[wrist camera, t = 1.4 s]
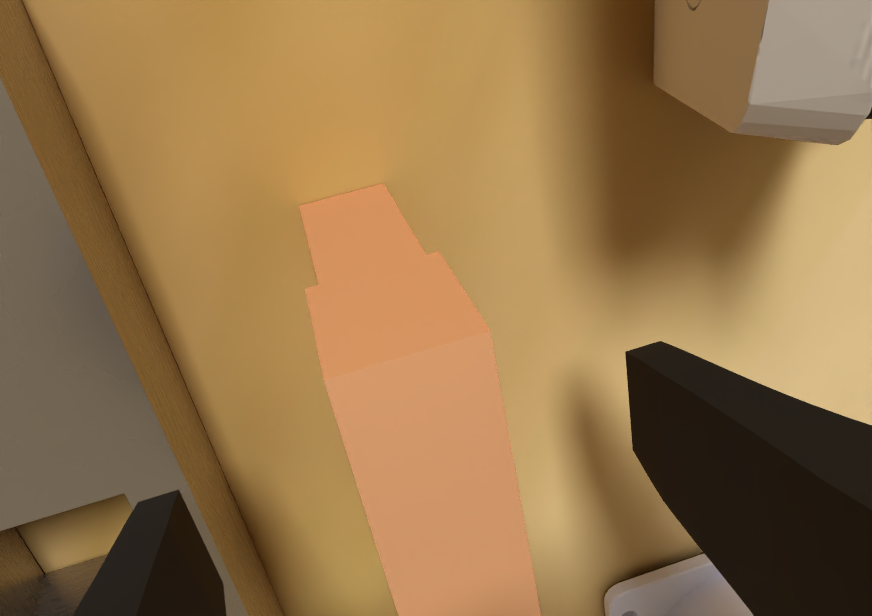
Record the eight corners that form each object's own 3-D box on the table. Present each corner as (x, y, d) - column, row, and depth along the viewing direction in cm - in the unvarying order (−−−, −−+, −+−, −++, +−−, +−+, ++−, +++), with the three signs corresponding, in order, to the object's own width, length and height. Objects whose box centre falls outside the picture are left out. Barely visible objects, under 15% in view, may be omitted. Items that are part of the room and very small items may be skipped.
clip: (455, 452, 17) (552, 681, 12) (370, 479, 17) (432, 724, 12) (393, 180, 14) (490, 331, 9) (288, 208, 14) (323, 380, 9)
